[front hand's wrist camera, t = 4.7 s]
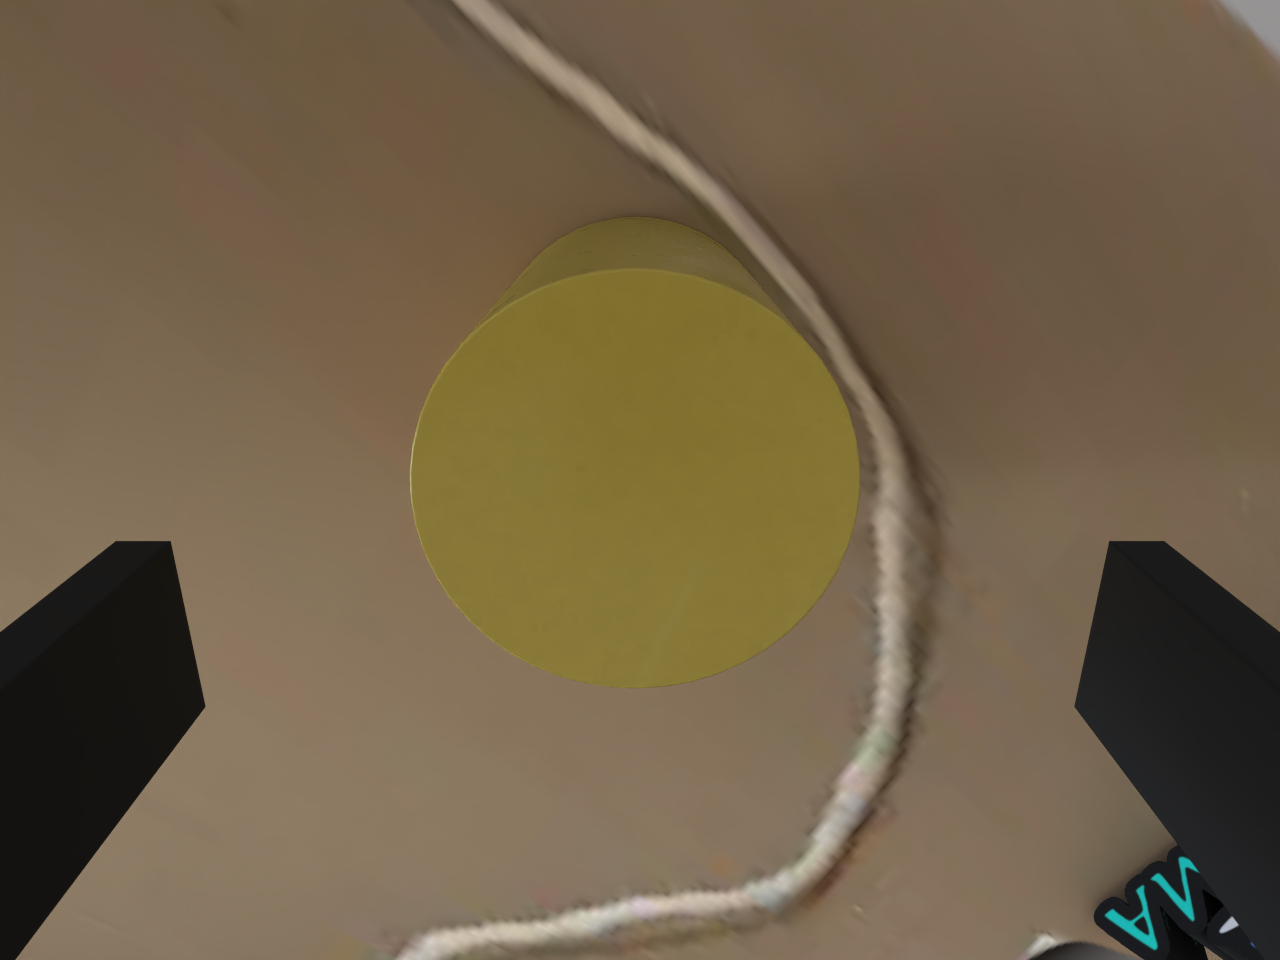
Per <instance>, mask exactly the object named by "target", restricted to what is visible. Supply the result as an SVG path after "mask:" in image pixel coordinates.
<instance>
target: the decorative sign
mask: <svg viewBox="0 0 1280 960" xmlns="http://www.w3.org/2000/svg"><path fill="white" fill-rule="evenodd" d="M1125 896H1126V898H1127V900H1128V902H1129V905H1128V904H1127V903H1125V902H1124V901H1122V900H1121V899H1120V898H1116V897H1111V898H1108V899H1106V900H1105V901H1104V902H1102V903H1101V904H1100V905H1099V906H1098V907H1097V909H1096V911H1095V913H1094V921H1095V923H1096V924H1097V925H1098V926H1099V927H1100V928H1101V929H1103V930H1104V931H1105V932H1106V933H1107V934H1108V935H1110V936H1111V937H1113V938H1114V939H1116V940H1117V941H1119V942H1120V943H1121V944H1122V945H1124V946H1125V947H1126V948H1128V949H1129V950H1131V951H1132V952H1134V953H1135V954H1137V955H1138V956H1139V957H1141V958H1142V959H1144V960H1208V958H1207V954H1206V951H1205V948H1204V946H1205V947H1206V948H1208V949H1209V950H1211V951H1212V952H1213V953H1215V954H1216V955H1218V956H1219V957H1220V958H1222V959H1223V960H1265V959H1264V958H1263V957H1262V955H1261V954H1260V953H1259V951H1258V950H1257V949H1256V947H1255V946H1254V945H1253V943H1252V942H1251V941H1250V939H1249V938H1248V937H1247V935H1246V934H1245V933H1244V931H1243V930H1242V929H1241V927H1240V926H1239V925H1238V923H1237V922H1236V921H1235V919H1234V918H1233V917H1232V915H1231V914H1230V913H1229V911H1228V910H1227V909H1226V908H1225V906H1224V905H1223V904H1222V902H1221V901H1220V900H1219V898H1218V897H1217V896H1216V894H1215V893H1214V892H1213V890H1212V889H1211V888H1210V886H1209V885H1208V884H1207V882H1206V881H1205V880H1204V878H1203V877H1202V876H1201V874H1200V873H1199V872H1198V870H1197V869H1196V868H1195V866H1194V865H1193V864H1192V862H1191V861H1190V860H1189V858H1188V857H1187V856H1186V854H1185V853H1184V852H1183V850H1182V849H1181V848H1180V846H1179V845H1178V846H1176V847H1174V848H1173V849H1172V850H1171V851H1170V852H1169V853H1168V856H1167V863H1165V862H1162V861H1157V862H1154V863H1152V864H1150V865H1149V866H1148V867H1146V868H1145V869H1144V870H1143V871H1142V873H1141V874H1139V875H1137V876H1135V877H1134V878H1132V879H1131V880H1130V881H1129V882H1128V883H1127V885H1126V888H1125Z"/></svg>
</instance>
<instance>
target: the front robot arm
mask: <svg viewBox="0 0 1280 960" xmlns="http://www.w3.org/2000/svg"><path fill="white" fill-rule="evenodd" d="M204 708H205V702H204V697H203V692H202V688H201V683H200V678H199V674H198V669H197V664H196V659H195V655H194V650H193V645H192V640H191V636H190V631H189V626H188V621H187V617H186V612H185V607H184V602H183V598H182V593H181V588H180V583H179V579H178V574H177V569H176V564H175V560H174V555H173V550H172V545H171V541H116V542H114V543H113V544H112V545H110V546H109V547H108V548H107V549H105V550H104V551H103V552H102V553H100V554H99V555H98V556H96V557H95V558H94V559H93V560H91V561H90V562H89V563H88V564H86V565H85V566H84V567H82V568H81V569H80V570H79V571H77V572H76V573H75V574H74V575H72V576H71V577H70V578H69V579H67V580H66V581H65V582H63V583H62V584H61V585H60V586H58V587H57V588H56V589H55V590H53V591H52V592H51V593H49V594H48V595H47V596H46V597H44V598H43V599H42V600H41V601H39V602H38V603H37V604H35V605H34V606H33V607H32V608H30V609H29V610H28V611H27V612H25V613H24V614H23V615H22V616H20V617H19V618H18V619H16V620H15V621H14V622H13V623H11V624H10V625H9V626H8V627H6V628H5V629H4V630H2V631H1V632H0V960H15V959H16V958H17V957H18V955H19V954H20V953H21V951H22V950H23V949H24V947H25V946H26V945H27V943H28V942H29V941H30V939H31V938H32V937H33V935H34V934H35V933H36V931H37V930H38V929H39V927H40V926H41V925H42V923H43V922H44V921H45V919H46V918H47V917H48V915H49V914H50V913H51V911H52V910H53V909H54V908H55V906H56V905H57V904H58V902H59V901H60V900H61V898H62V897H63V896H64V894H65V893H66V892H67V890H68V889H69V888H70V886H71V885H72V884H73V882H74V881H75V880H76V878H77V877H78V876H79V874H80V873H81V872H82V870H83V869H84V868H85V866H86V865H87V864H88V862H89V861H90V860H91V858H92V857H93V856H94V854H95V853H96V852H97V850H98V849H99V848H100V846H101V845H102V844H103V842H104V841H105V840H106V838H107V837H108V836H109V834H110V833H111V832H112V830H113V829H114V828H115V826H116V825H117V824H118V822H119V821H120V820H121V818H122V817H123V816H124V814H125V813H126V812H127V810H128V809H129V808H130V806H131V805H132V804H133V802H134V801H135V800H136V798H137V797H138V796H139V794H140V793H141V792H142V790H143V789H144V788H145V786H146V785H147V784H148V782H149V781H150V780H151V778H152V777H153V776H154V774H155V773H156V772H157V770H158V769H159V768H160V766H161V765H162V764H163V763H164V761H165V760H166V759H167V757H168V756H169V755H170V753H171V752H172V751H173V749H174V748H175V747H176V745H177V744H178V743H179V741H180V740H181V739H182V737H183V736H184V735H185V733H186V732H187V731H188V729H189V728H190V727H191V725H192V724H193V723H194V721H195V720H196V719H197V717H198V716H199V715H200V713H201V712H202V711H203V709H204ZM1075 708H1076V709H1077V711H1078V712H1079V713H1080V715H1081V716H1082V717H1083V719H1084V720H1085V721H1086V723H1087V724H1088V725H1089V727H1090V728H1091V729H1092V731H1093V732H1094V733H1095V735H1096V736H1097V737H1098V739H1099V740H1100V741H1101V743H1102V744H1103V745H1104V747H1105V748H1106V749H1107V751H1108V752H1109V753H1110V755H1111V756H1112V757H1113V759H1114V760H1115V761H1116V763H1117V764H1118V765H1119V766H1120V768H1121V769H1122V770H1123V772H1124V773H1125V774H1126V776H1127V777H1128V778H1129V780H1130V781H1131V782H1132V784H1133V785H1134V786H1135V788H1136V789H1137V790H1138V792H1139V793H1140V794H1141V796H1142V797H1143V798H1144V800H1145V801H1146V802H1147V804H1148V805H1149V806H1150V808H1151V809H1152V810H1153V812H1154V813H1155V814H1156V816H1157V817H1158V818H1159V820H1160V821H1161V822H1162V824H1163V825H1164V826H1165V828H1166V829H1167V830H1168V832H1169V833H1170V834H1171V836H1172V837H1173V838H1174V840H1175V841H1176V842H1177V844H1178V845H1179V846H1180V848H1181V849H1182V850H1183V852H1184V853H1185V854H1186V856H1187V857H1188V858H1189V860H1190V861H1191V862H1192V864H1193V865H1194V866H1195V868H1196V869H1197V870H1198V872H1199V873H1200V874H1201V876H1202V877H1203V878H1204V880H1205V881H1206V882H1207V884H1208V885H1209V886H1210V888H1211V889H1212V890H1213V892H1214V893H1215V894H1216V896H1217V897H1218V898H1219V900H1220V901H1221V902H1222V904H1223V905H1224V906H1225V908H1226V909H1227V910H1228V911H1229V913H1230V914H1231V915H1232V917H1233V918H1234V919H1235V921H1236V922H1237V923H1238V925H1239V926H1240V927H1241V929H1242V930H1243V931H1244V933H1245V934H1246V935H1247V937H1248V938H1249V939H1250V941H1251V942H1252V943H1253V945H1254V946H1255V947H1256V949H1257V950H1258V951H1259V953H1260V954H1261V955H1262V957H1263V958H1264V959H1265V960H1280V632H1279V631H1278V630H1276V629H1275V628H1274V627H1272V626H1271V625H1270V624H1269V623H1267V622H1266V621H1265V620H1264V619H1262V618H1261V617H1260V616H1258V615H1257V614H1256V613H1255V612H1253V611H1252V610H1251V609H1250V608H1248V607H1247V606H1246V605H1245V604H1243V603H1242V602H1241V601H1239V600H1238V599H1237V598H1236V597H1234V596H1233V595H1232V594H1231V593H1229V592H1228V591H1227V590H1225V589H1224V588H1223V587H1222V586H1220V585H1219V584H1218V583H1217V582H1215V581H1214V580H1213V579H1211V578H1210V577H1209V576H1208V575H1206V574H1205V573H1204V572H1203V571H1201V570H1200V569H1199V568H1198V567H1196V566H1195V565H1194V564H1192V563H1191V562H1190V561H1189V560H1187V559H1186V558H1185V557H1184V556H1182V555H1181V554H1180V553H1178V552H1177V551H1176V550H1175V549H1173V548H1172V547H1171V546H1170V545H1168V544H1167V543H1166V542H1164V541H1109V545H1108V550H1107V555H1106V560H1105V564H1104V569H1103V574H1102V579H1101V583H1100V588H1099V593H1098V598H1097V602H1096V607H1095V612H1094V617H1093V621H1092V626H1091V631H1090V636H1089V640H1088V645H1087V650H1086V655H1085V659H1084V664H1083V669H1082V674H1081V678H1080V683H1079V688H1078V692H1077V697H1076V702H1075Z"/></svg>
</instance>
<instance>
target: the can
mask: <svg viewBox="0 0 1280 960" xmlns="http://www.w3.org/2000/svg"><path fill="white" fill-rule="evenodd" d="M409 473H410V495H411V504H412V510H413V515H414V520H415V526H416V529H417V532H418V535H419V538H420V541H421V544H422V547H423V550H424V553H425V555H426V557H427V559H428V561H429V563H430V565H431V567H432V569H433V571H434V573H435V575H436V577H437V579H438V580H439V582H440V584H441V585H442V587H443V588H444V590H445V591H446V593H447V594H448V596H449V597H450V599H451V600H452V601H453V602H454V603H455V605H456V606H457V607H458V608H459V609H460V610H461V612H462V613H463V614H464V615H465V616H466V617H467V619H468V620H469V621H470V622H472V623H473V624H474V625H475V626H476V627H477V628H478V629H479V630H480V631H482V632H483V633H484V634H485V635H486V636H487V637H488V638H489V639H491V640H492V641H494V642H495V643H497V644H498V645H499V646H501V647H502V648H504V649H505V650H507V651H508V652H509V653H511V654H513V655H515V656H516V657H518V658H520V659H522V660H524V661H526V662H528V663H529V664H531V665H533V666H535V667H538V668H540V669H543V670H545V671H548V672H550V673H553V674H555V675H558V676H561V677H564V678H568V679H572V680H575V681H579V682H583V683H587V684H594V685H600V686H607V687H618V688H651V687H665V686H671V685H676V684H682V683H687V682H692V681H696V680H699V679H702V678H705V677H709V676H712V675H715V674H718V673H721V672H723V671H725V670H728V669H730V668H732V667H734V666H737V665H739V664H741V663H743V662H745V661H747V660H748V659H750V658H752V657H754V656H755V655H757V654H759V653H761V652H762V651H764V650H766V649H767V648H768V647H770V646H771V645H772V644H774V643H775V642H776V641H778V640H779V639H780V638H782V637H783V636H784V635H786V634H787V633H788V632H789V631H790V630H791V629H792V628H793V627H794V626H795V625H796V624H797V623H798V622H799V621H800V620H801V619H802V618H804V617H805V616H806V615H807V613H808V612H809V611H810V610H811V608H812V607H813V606H814V605H815V603H816V602H817V601H818V600H819V598H820V597H821V596H822V595H823V593H824V592H825V590H826V588H827V587H828V585H829V584H830V582H831V580H832V579H833V577H834V575H835V574H836V572H837V570H838V568H839V566H840V564H841V561H842V559H843V557H844V555H845V552H846V550H847V548H848V546H849V542H850V539H851V535H852V532H853V528H854V525H855V522H856V516H857V510H858V503H859V496H860V460H859V453H858V446H857V438H856V434H855V431H854V427H853V424H852V420H851V417H850V413H849V410H848V408H847V406H846V403H845V401H844V399H843V397H842V394H841V392H840V390H839V388H838V385H837V383H836V382H835V380H834V379H833V377H832V376H831V374H830V372H829V371H828V369H827V368H826V366H825V364H824V363H823V361H822V360H821V358H820V357H819V356H818V355H817V354H816V352H815V351H814V350H813V349H812V348H811V346H810V345H809V344H808V343H807V342H806V340H805V339H804V338H803V337H802V336H801V334H800V333H799V332H798V331H797V330H796V328H795V327H794V326H793V325H792V324H791V323H790V321H789V320H788V319H787V318H786V317H785V315H784V314H783V313H782V312H781V311H780V309H779V308H778V307H777V306H776V305H775V303H774V302H773V301H772V300H771V299H770V297H769V296H768V295H767V294H766V293H765V291H764V290H763V289H762V288H761V287H760V285H759V284H758V283H757V282H756V281H755V280H754V278H753V277H752V276H751V275H750V274H749V272H748V271H747V270H746V269H745V268H744V266H743V265H742V264H741V263H740V262H739V261H738V259H737V258H735V257H734V256H733V255H732V254H731V253H730V252H729V251H728V250H726V249H725V248H724V247H723V246H722V245H720V244H719V243H717V242H716V241H714V240H713V239H711V238H710V237H708V236H707V235H705V234H703V233H701V232H699V231H697V230H695V229H692V228H690V227H688V226H685V225H682V224H679V223H676V222H673V221H668V220H663V219H658V218H652V217H622V218H612V219H608V220H604V221H599V222H595V223H592V224H589V225H587V226H584V227H581V228H579V229H576V230H574V231H572V232H571V233H569V234H567V235H565V236H563V237H561V238H560V239H558V240H557V241H555V242H554V243H553V244H551V245H550V246H549V247H547V248H546V249H544V250H543V251H542V252H541V253H540V254H539V255H538V256H537V257H536V258H535V259H534V260H533V261H532V262H531V263H530V264H529V265H528V266H527V268H526V269H525V270H524V271H523V272H522V273H521V275H520V276H519V277H518V278H517V279H516V280H515V282H514V283H513V284H512V285H511V286H510V287H509V289H508V290H507V291H506V292H505V293H504V294H503V296H502V297H501V298H500V299H499V300H498V301H497V303H496V304H495V305H494V306H493V307H492V308H491V310H490V311H489V312H488V313H487V314H486V315H485V317H484V318H483V319H482V320H481V321H480V322H479V324H478V325H477V326H476V327H475V328H474V329H473V331H472V332H471V333H470V334H469V335H468V336H467V337H466V339H465V340H464V341H463V342H462V343H461V345H460V346H459V347H458V349H457V350H456V351H455V352H454V354H453V355H452V356H451V357H450V359H449V360H448V361H447V363H446V364H445V365H444V367H443V368H442V370H441V372H440V374H439V375H438V377H437V379H436V380H435V382H434V384H433V386H432V387H431V389H430V391H429V393H428V396H427V398H426V401H425V403H424V406H423V408H422V411H421V413H420V416H419V419H418V423H417V427H416V431H415V435H414V439H413V443H412V452H411V462H410V472H409Z"/></svg>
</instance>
